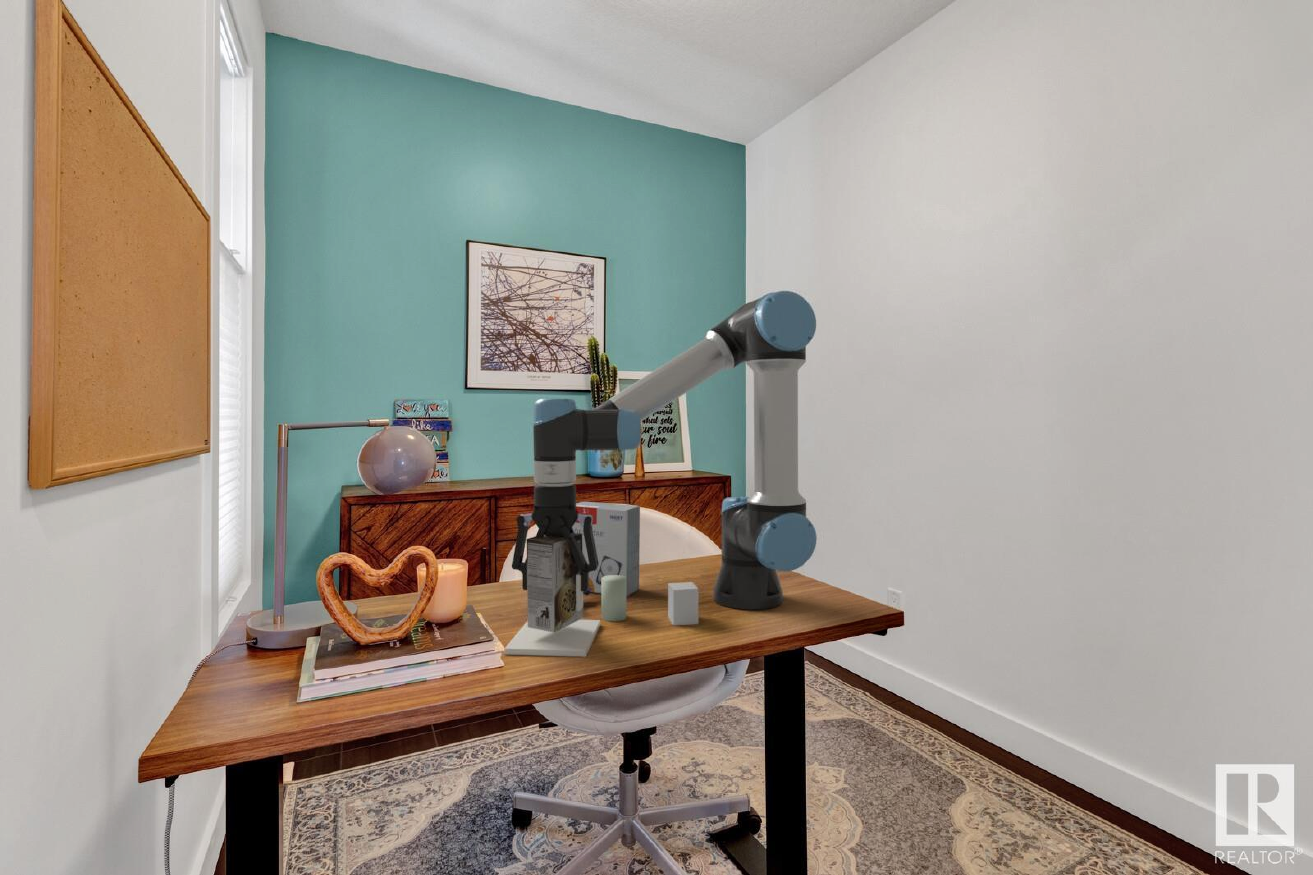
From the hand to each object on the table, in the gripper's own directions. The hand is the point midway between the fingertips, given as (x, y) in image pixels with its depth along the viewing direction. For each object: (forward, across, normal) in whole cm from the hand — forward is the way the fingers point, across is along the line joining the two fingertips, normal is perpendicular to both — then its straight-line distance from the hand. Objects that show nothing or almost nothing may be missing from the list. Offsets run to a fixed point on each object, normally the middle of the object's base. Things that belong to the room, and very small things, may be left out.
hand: (555, 607), depth 115 cm
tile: (+6, 0, 0) cm, 6 cm away
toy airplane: (+6, -2, +19) cm, 20 cm away
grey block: (+6, +23, +12) cm, 27 cm away
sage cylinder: (+6, +9, +13) cm, 17 cm away
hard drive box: (+6, +4, +33) cm, 34 cm away
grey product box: (+3, 0, 0) cm, 3 cm away
